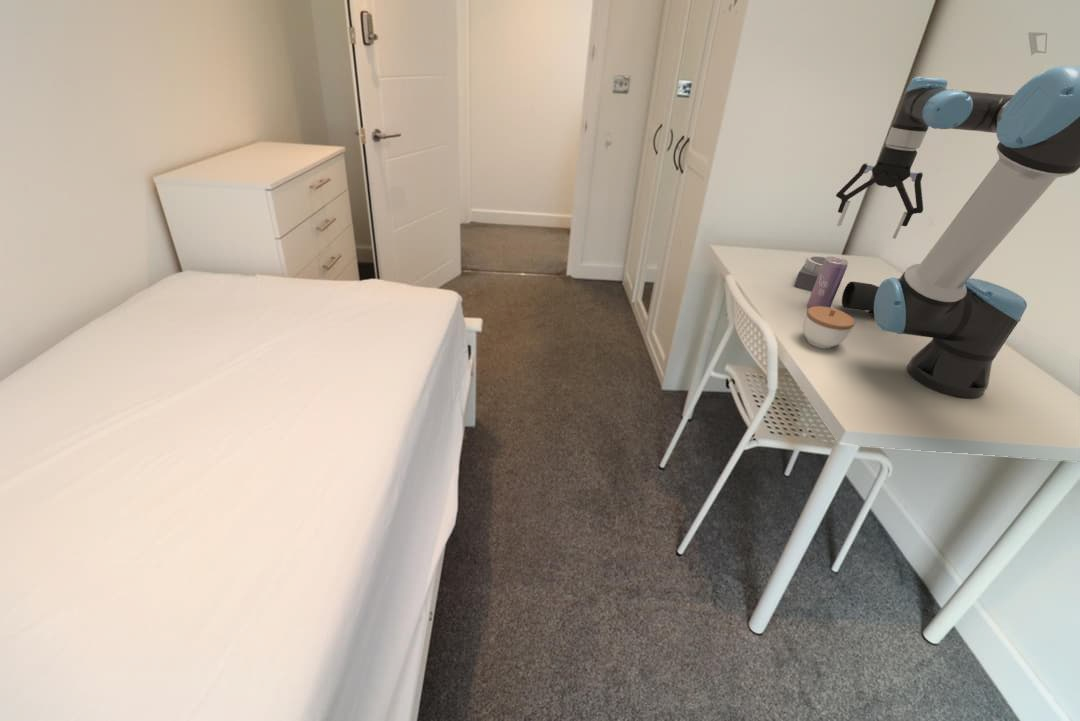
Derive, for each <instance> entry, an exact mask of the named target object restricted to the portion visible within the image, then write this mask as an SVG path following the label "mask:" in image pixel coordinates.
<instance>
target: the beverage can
mask: <svg viewBox="0 0 1080 721" xmlns="http://www.w3.org/2000/svg"><path fill="white" fill-rule="evenodd" d="M825 257H826V259H825V260H824V262H823V265H822V267H821V270H820V272H819V275H818V277H817V280H816V283H815V285H814V288H813V290H812V291H811V294H810V296H809V298H808V300H807V304H806V306H807V308H808V309H809V308H811V307H815V306H822V307H829V308H832V305H833V302H834V300H835V297H836V295H837V293H838V290H839V287H840V286H841V283H842V281H843V278H844V276H845V273H846V271H847V268H848V264H849V261H848V260H846V259H844V258H841V257H838V256H825Z"/></svg>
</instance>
